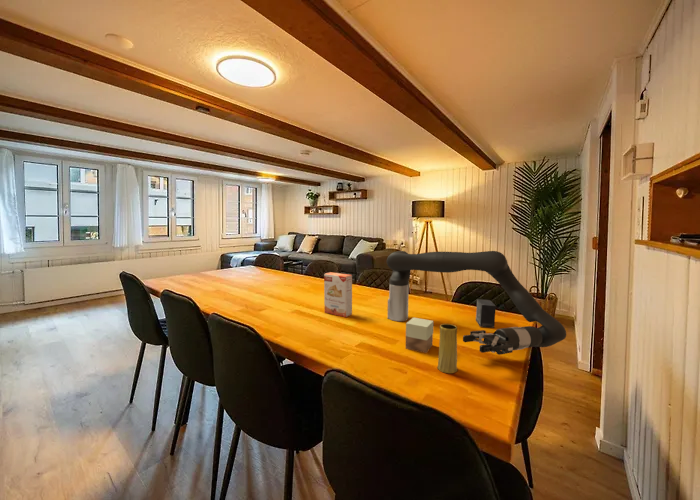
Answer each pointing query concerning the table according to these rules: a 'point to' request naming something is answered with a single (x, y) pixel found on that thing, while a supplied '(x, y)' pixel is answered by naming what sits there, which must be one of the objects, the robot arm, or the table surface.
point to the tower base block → (419, 344)
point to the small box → (485, 313)
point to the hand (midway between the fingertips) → (471, 343)
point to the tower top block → (419, 328)
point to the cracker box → (338, 294)
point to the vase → (448, 348)
